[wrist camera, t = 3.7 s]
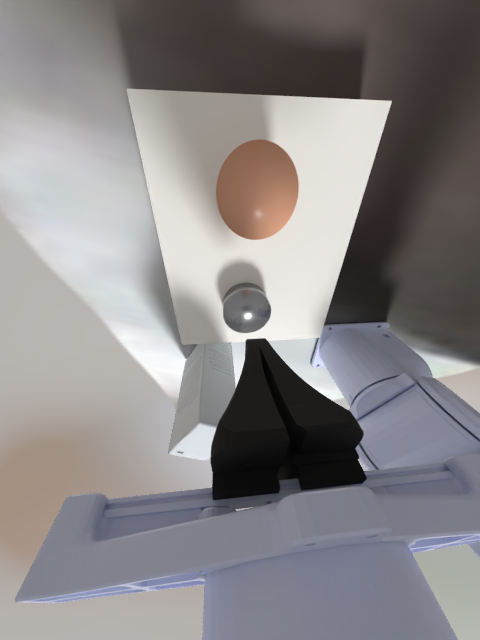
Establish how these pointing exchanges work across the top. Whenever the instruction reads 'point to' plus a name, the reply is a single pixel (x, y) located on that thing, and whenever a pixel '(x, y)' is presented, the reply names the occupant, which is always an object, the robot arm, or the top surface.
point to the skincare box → (202, 399)
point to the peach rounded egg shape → (257, 189)
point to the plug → (246, 308)
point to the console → (210, 229)
